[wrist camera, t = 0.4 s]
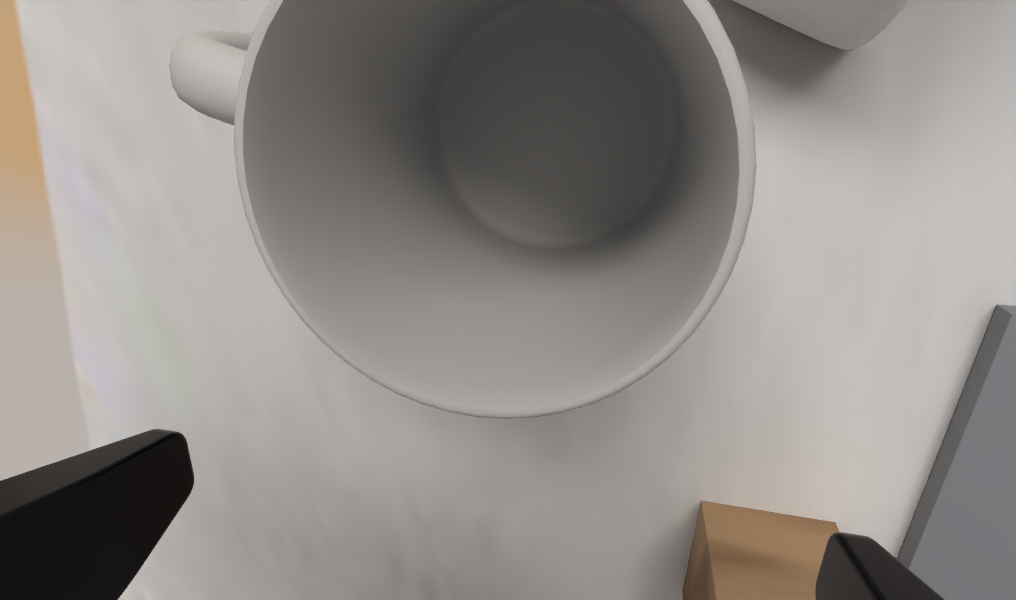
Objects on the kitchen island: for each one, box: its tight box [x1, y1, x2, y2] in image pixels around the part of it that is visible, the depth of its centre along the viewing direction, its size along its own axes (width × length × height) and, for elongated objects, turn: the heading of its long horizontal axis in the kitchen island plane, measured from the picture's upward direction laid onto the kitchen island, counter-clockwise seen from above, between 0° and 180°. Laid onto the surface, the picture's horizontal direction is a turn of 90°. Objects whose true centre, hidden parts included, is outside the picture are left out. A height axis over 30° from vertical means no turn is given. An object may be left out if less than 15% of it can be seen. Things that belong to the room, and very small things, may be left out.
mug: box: [169, 0, 756, 419], centre depth 14 cm, size 12×8×11 cm
